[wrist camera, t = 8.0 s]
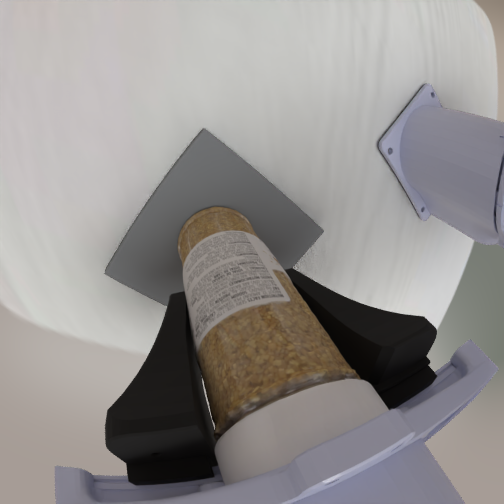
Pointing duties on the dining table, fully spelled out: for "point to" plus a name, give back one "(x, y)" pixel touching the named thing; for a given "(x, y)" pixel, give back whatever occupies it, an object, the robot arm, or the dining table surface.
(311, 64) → the dining table surface
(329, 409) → the sprinkles bottle
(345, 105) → the dining table surface
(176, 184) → the coaster
